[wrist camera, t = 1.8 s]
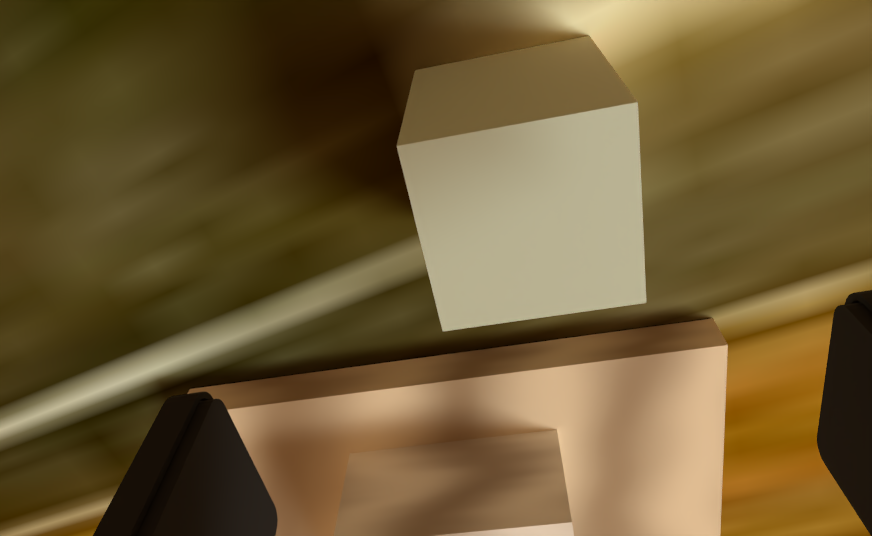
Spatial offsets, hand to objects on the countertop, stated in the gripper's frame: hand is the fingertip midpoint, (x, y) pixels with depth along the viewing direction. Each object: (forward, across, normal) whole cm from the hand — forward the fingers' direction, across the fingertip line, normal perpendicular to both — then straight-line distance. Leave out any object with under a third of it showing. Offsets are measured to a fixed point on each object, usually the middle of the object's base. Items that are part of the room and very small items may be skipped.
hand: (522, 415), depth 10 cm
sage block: (+12, -1, 0) cm, 12 cm away
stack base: (+12, +3, +15) cm, 19 cm away
